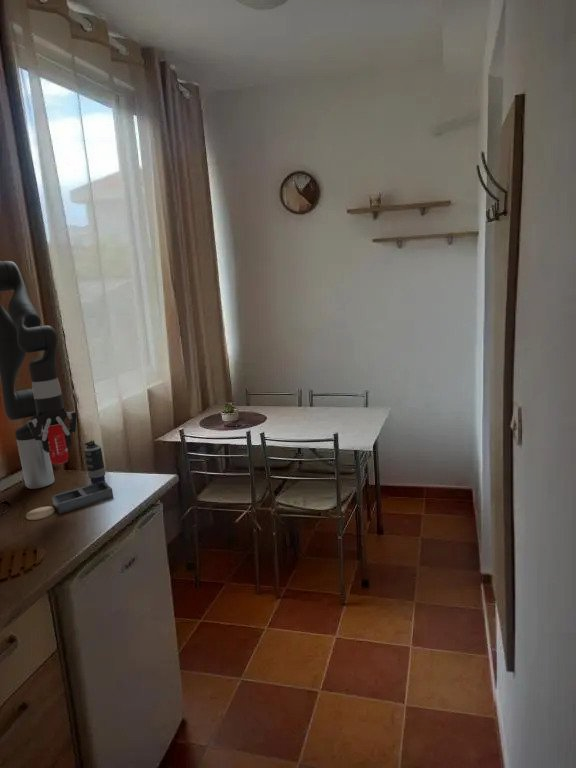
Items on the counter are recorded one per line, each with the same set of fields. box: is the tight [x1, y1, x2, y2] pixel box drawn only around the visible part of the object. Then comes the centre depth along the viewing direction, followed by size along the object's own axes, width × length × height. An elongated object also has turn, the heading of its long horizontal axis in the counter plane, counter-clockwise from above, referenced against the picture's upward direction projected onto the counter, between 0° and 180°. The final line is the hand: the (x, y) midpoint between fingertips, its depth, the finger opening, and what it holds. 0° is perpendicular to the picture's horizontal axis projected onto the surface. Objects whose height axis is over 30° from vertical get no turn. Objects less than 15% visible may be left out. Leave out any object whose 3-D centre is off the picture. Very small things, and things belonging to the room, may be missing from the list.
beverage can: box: [46, 424, 70, 465], centre depth 162 cm, size 5×5×12 cm
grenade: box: [79, 439, 106, 485], centre depth 182 cm, size 5×7×15 cm
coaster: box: [25, 506, 56, 521], centre depth 162 cm, size 8×8×1 cm
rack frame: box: [51, 481, 114, 515], centre depth 168 cm, size 9×16×3 cm, turn 125°
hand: (57, 449), depth 162 cm, fingers closed on beverage can, 5 cm apart
